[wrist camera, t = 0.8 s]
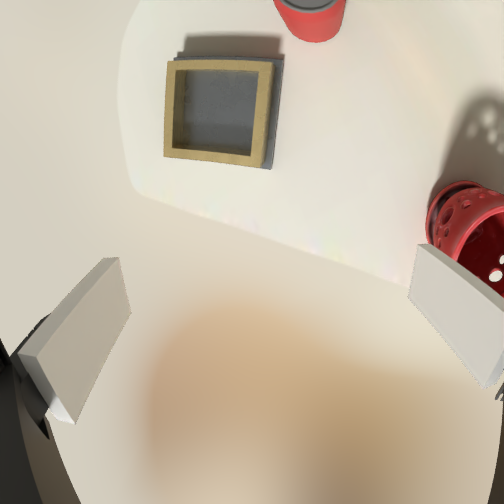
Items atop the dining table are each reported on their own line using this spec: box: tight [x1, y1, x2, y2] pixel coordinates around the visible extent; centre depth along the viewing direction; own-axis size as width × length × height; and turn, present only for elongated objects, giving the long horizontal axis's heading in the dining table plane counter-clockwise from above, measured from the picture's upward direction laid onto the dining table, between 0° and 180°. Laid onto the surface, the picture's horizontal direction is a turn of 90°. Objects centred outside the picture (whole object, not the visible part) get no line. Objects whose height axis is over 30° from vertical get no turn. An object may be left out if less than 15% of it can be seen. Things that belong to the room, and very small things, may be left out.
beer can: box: [273, 0, 346, 43], centre depth 21 cm, size 7×7×12 cm
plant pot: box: [425, 181, 504, 298], centre depth 28 cm, size 13×13×12 cm
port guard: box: [164, 56, 284, 170], centre depth 33 cm, size 14×14×4 cm
